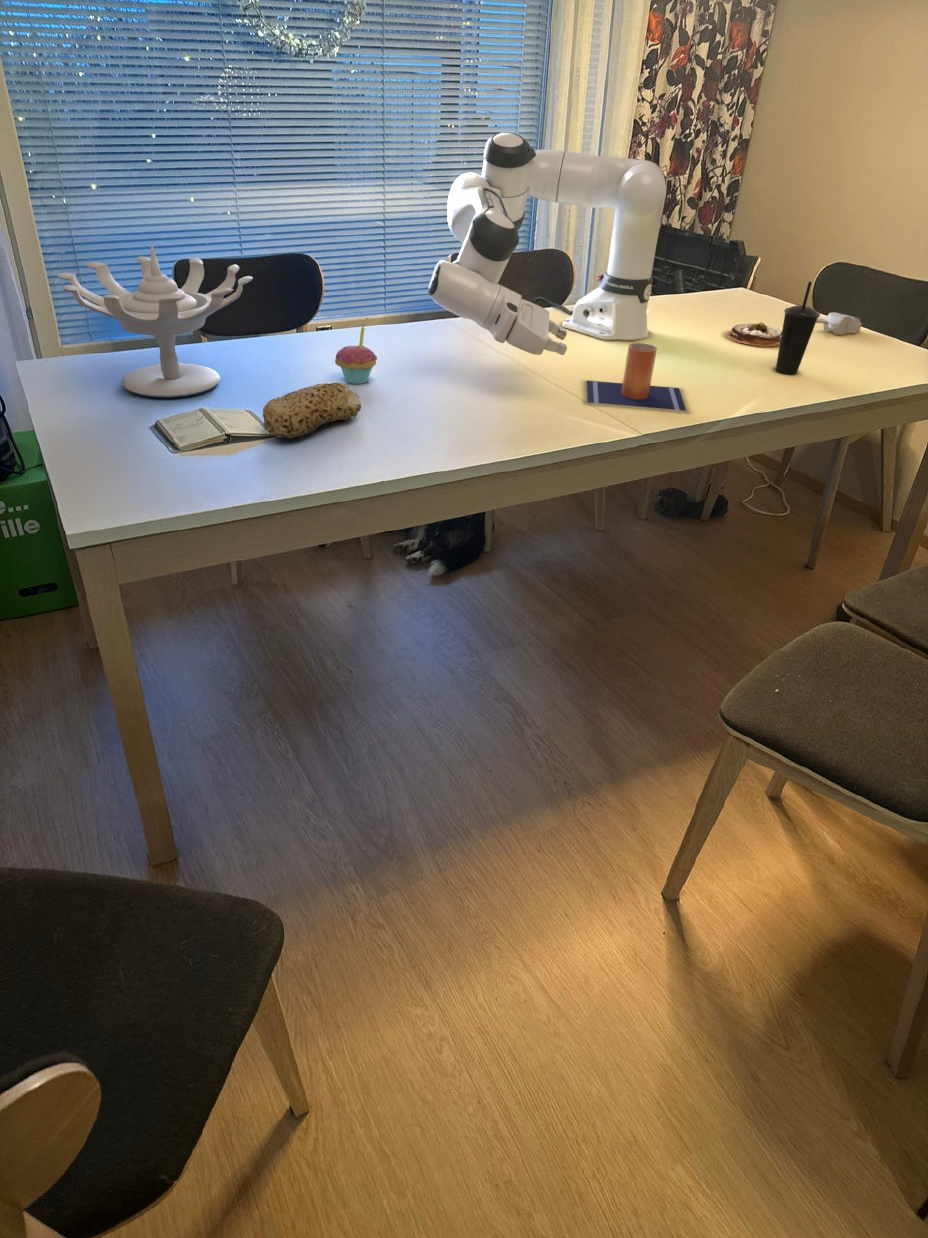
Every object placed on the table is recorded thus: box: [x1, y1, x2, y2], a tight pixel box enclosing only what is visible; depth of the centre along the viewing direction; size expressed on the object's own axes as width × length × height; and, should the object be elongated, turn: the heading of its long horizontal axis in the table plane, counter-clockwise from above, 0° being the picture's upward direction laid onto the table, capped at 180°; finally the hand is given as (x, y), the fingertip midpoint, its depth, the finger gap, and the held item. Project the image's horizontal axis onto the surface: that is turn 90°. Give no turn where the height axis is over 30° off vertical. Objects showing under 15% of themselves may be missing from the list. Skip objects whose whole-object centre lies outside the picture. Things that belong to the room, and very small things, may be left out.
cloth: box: [586, 380, 687, 412], centre depth 176 cm, size 20×14×1 cm
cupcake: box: [334, 323, 378, 385], centre depth 172 cm, size 9×8×12 cm
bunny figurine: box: [815, 311, 863, 336], centre depth 226 cm, size 10×5×15 cm
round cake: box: [725, 322, 782, 347], centre depth 217 cm, size 15×15×4 cm
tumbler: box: [621, 342, 658, 400], centre depth 173 cm, size 6×6×10 cm
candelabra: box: [56, 241, 254, 399], centre depth 161 cm, size 34×35×27 cm
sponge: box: [262, 382, 362, 439], centre depth 151 cm, size 13×8×20 cm
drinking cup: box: [775, 281, 821, 376], centre depth 190 cm, size 8×8×20 cm
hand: (565, 343), depth 170 cm, fingers open, 8 cm apart
